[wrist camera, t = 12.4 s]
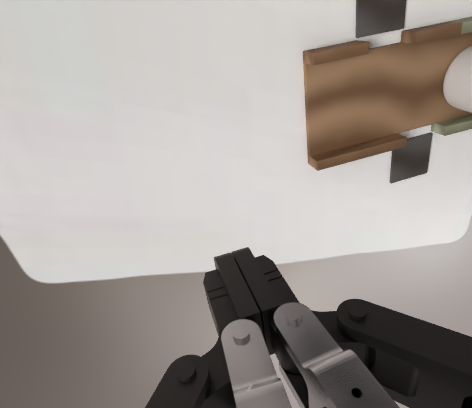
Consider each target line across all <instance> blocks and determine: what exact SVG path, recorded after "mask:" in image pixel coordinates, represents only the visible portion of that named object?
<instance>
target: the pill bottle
mask: <svg viewBox="0 0 472 408" xmlns="http://www.w3.org/2000/svg"><path fill="white" fill-rule="evenodd" d="M443 92H444V97H445V99H446V101H447V102H448V103H449V104H450V105H451V106H453V107H455V108H457V109H460V110H464V111H468V112H471V113H472V46H470V47H468V48H466V49H465V50H463V51H462V52H461V53H460V54H458V55H457V57H456V58H455V59H454V60H453V62H452V63H451V65H450V66H449V68H448V70H447V72H446V75H445V79H444V84H443Z"/></svg>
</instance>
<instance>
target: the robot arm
mask: <svg viewBox="0 0 472 408" xmlns="http://www.w3.org/2000/svg"><path fill="white" fill-rule="evenodd" d="M214 262H215V266H216V270H213V271H210V272H207V273H205V278H204V282H203V283H204V287H205V292H206V295H207V300H208V304H209V308H210V311H211V314H212V317H213V320H214V323H215V326H216V330H217V333H218V336H219V338H218V341H217V343H216V344H215V346H214V347H213V348H212V349H211V350H210V351H209V352H208V353H206V354H205V355H203V356H202V357H200V356H197V355H186V356H182V357H180V358H178V359H176V360H175V361H174V362H173V363H172V364H171V365H170V366H169V368H168V369H167V371H166V373H165V374H164V376H163V378H162V380H161V381H160V383H159V385H158V387H157V388H156V390H155V392H154V393H153V395H152V397H151V399H150V400H149V402H148V404H147V405H146V407H145V408H292V407H291V405H290V402H289V399H288V397H287V394H286V391H285V388H284V386H283V383H282V381H281V379H280V378H278V377H277V374H276V371H275V369H274V366H273V363H272V360H271V358H270V355H271V354H274V353H275V354H276V356H277V358H278V360H279V366H280V371H281V374H282V375H283V377H284V379H285V381H286V382H287V384H288V386H289V388H290V389H291V391H292V393H293V395H294V397H295V398H296V400H297V402H298V404H299V406H300V407H301V408H399V407H398V405H397V404H396V403H395V401H397V402H399V403H401V404H403V405H405V406H407V407H409V408H472V337H470V336H467V335H464V334H461V333H458V332H455V331H452V330H450V329H446V328H444V327H441V326H438V325H435V324H432V323H429V322H426V321H423V320H420V319H417V318H414V317H411V316H408V315H405V314H403V313H399V312H397V311H393V310H391V309H388V308H385V307H382V306H379V305H376V304H373V303H370V302H367V301H364V300H361V299H350V300H346V301H344V302H343V303H341V304H340V305H339V307H338V309H337V311H329V312H317V311H312V310H310V309H309V308H308V307H307V306H305V305H303V304H301V303H299V301H298V300H297V298H296V297H295V295H294V294H293V292H292V291H291V289H290V287H289V286H288V284H287V283H286V281H285V279H284V278H283V277H282V275H281V274H280V272H279V271H278V269H277V267H276V265H275V264H274V262H273V261H272V260H270V259H269V258H267V257H266V256H264V255H262V256H259V257H255V258H254V256H253V254H252V252H251V251H250V249H249V248H248V247H247V248H243V249H240V250H237V251H233V252H231V253H227V254H224V255H220V256H217V257H214Z"/></svg>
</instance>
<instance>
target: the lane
mask: <svg viewBox="0 0 472 408" xmlns="http://www.w3.org/2000/svg"><path fill="white" fill-rule="evenodd" d="M405 6H406V0H357V2H356V38H359V37H364V36H369V35H374V34H379V33H383V32H388V31H393V30H398V29H403V28H404V19H405ZM470 46H472V17H469V18H464V19H459V20H454V21H449V22H444V23H439V24H435V25H430V26H425V27H420V28H415V29H410V30H405V31H402V34H401V42H400V43H396V44H391V45H386V46H381V47H377V48H372V49H369V42H365V41H351V42H346V43H341V44H336V45H332V46H327V47H322V48H317V49H312V50H307V51H303V63H304V85H305V106H306V127H307V148H308V164H310V165H311V166H312V167H314V168H315V169H316V170H322V169H325V168H329V167H333V166H336V165H340V164H344V163H347V162H351V161H355V160H358V159H362V158H366V157H369V156H373V155H377V154H380V153H384V152H388V151H391V150H392V161H391V173H390V183H394V182H397V181H401V180H404V179H408V178H411V177H414V176H418V175H421V174H425V173H427V169H428V162H429V154H430V147H431V140H432V133H428V134H424V135H420V136H417V137H413V138H409V139H407V137H404V136H402V135H399V134H397V133H400V132H404V131H408V130H412V129H416V128H419V127H423V126H427V125H431V124H432V127H431V131H433V132H436V133H439V134H442V135H445V136H446V135H450V134H453V133H457V132H461V131H464V130H468V129H472V113H471V112H468V111H464V110H460V109H457V108H455V107H453V106H451V105H450V104H449V103H448V102H447V101H446V99H445V97H444V92H443V84H444V79H445V75H446V72H447V70H448V68H449V66H450V65H451V63H452V62H453V60H454V59H455V58H456V57H457V55H458V54H460V53H461V52H462V51H463V50H465V49H466V48H468V47H470Z"/></svg>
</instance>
